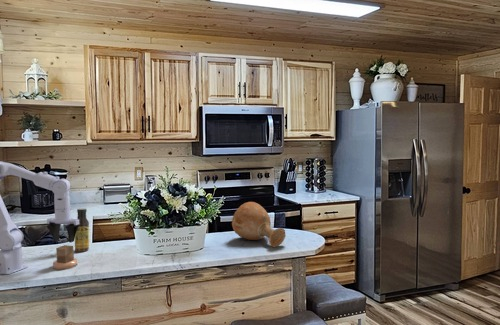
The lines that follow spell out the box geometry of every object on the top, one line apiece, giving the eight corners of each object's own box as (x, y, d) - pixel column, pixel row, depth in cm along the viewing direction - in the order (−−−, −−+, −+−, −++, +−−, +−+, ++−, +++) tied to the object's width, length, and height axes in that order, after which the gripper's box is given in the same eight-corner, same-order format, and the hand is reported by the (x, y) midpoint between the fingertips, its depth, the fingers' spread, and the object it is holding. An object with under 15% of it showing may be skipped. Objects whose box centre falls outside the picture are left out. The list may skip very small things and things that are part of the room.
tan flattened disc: (66, 270, 158) (65, 265, 158) (48, 268, 161) (47, 263, 160) (81, 263, 167) (81, 258, 166) (64, 261, 169) (64, 257, 169)
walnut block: (65, 263, 161) (64, 248, 160) (57, 262, 162) (56, 248, 162) (73, 260, 165) (73, 245, 165) (65, 259, 167) (64, 245, 166)
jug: (260, 210, 217) (300, 225, 194) (242, 240, 212) (281, 259, 189) (238, 191, 205) (278, 205, 182) (219, 223, 200) (258, 241, 177)
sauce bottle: (74, 253, 182) (72, 210, 181) (74, 249, 188) (73, 208, 187) (90, 251, 185) (88, 209, 183) (89, 248, 190) (88, 207, 189)
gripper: (83, 207, 164) (85, 239, 165) (55, 206, 168) (57, 237, 169) (71, 210, 157) (73, 244, 158) (42, 209, 161) (44, 242, 162)
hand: (64, 241), depth 163 cm, fingers open, 7 cm apart
